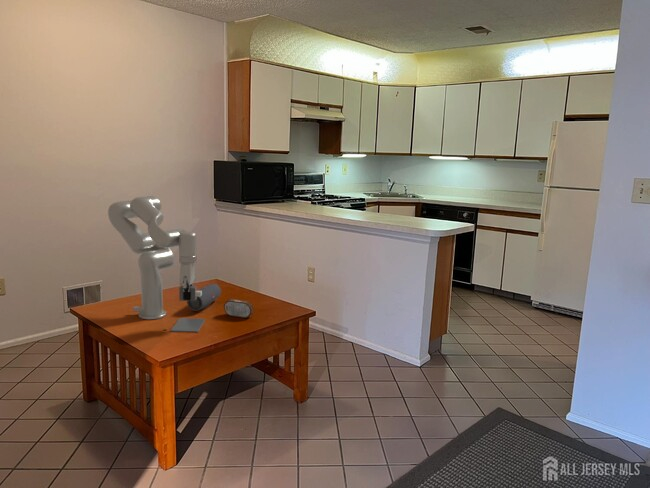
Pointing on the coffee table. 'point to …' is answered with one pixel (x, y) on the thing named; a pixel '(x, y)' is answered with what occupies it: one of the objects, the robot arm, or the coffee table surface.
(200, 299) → the bluetooth speaker
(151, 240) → the robot arm
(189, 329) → the slate board
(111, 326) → the coffee table surface
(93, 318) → the coffee table surface
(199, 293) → the block
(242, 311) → the tin
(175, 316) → the coffee table surface
